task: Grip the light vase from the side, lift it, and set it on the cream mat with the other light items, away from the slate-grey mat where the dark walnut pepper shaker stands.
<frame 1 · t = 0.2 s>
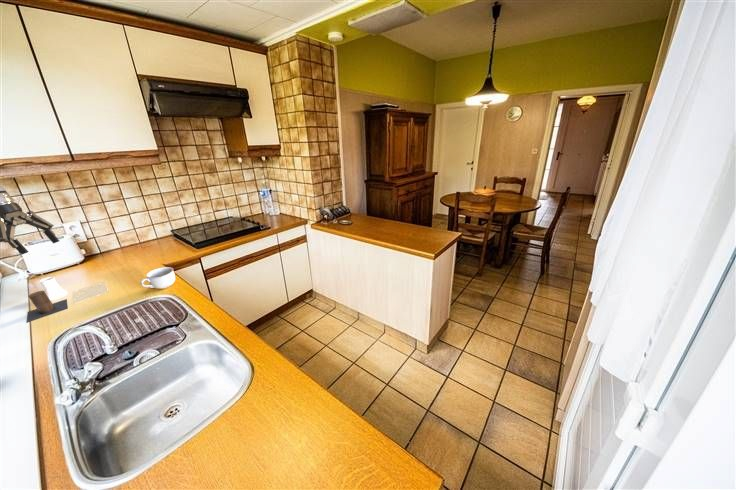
hand: (41, 247, 122), 24 cm above the worktop, tool tilted 15°, fingers open, 13 cm apart
cream mat: (91, 293, 129), on the worktop
vase: (58, 297, 127), on the worktop
slate mat: (48, 311, 116), on the worktop
teacup: (161, 287, 131), on the worktop
pepper shaker: (47, 311, 115), point 1 cm above the worktop, touching slate mat
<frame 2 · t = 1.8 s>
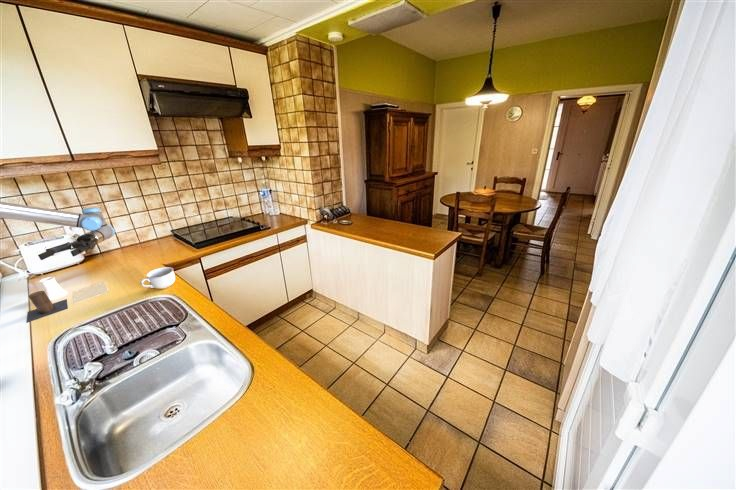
hand: (56, 255, 129), 18 cm above the worktop, tool horizontal, fingers open, 13 cm apart
nothing on the worktop moved.
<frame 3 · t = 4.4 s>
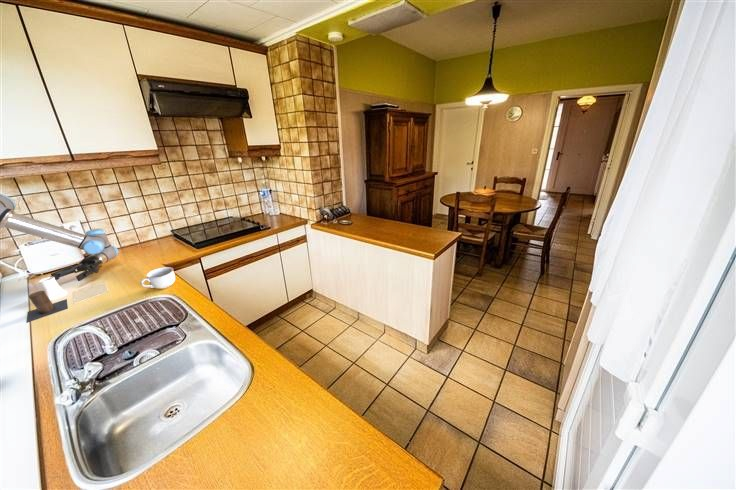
hand: (61, 280, 130), 6 cm above the worktop, tool horizontal, fingers open, 13 cm apart
nothing on the worktop moved.
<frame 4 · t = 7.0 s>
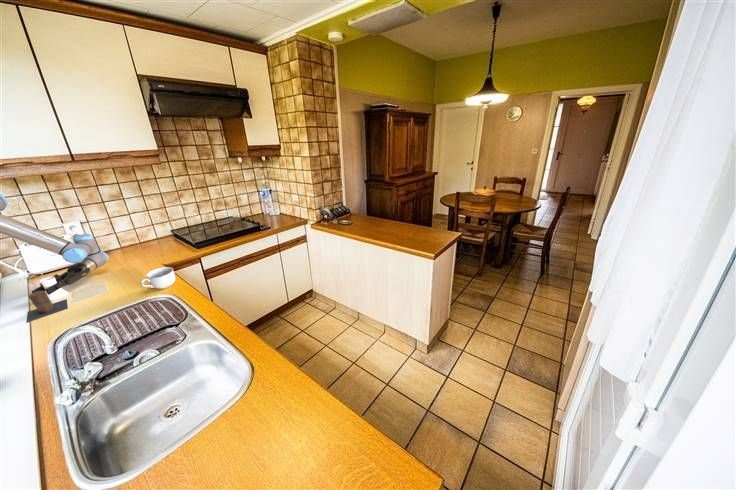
hand: (40, 292, 120), 6 cm above the worktop, tool horizontal, fingers closed on vase, 5 cm apart
vase: (58, 297, 127), on the worktop, touching gripper
everything else where it was.
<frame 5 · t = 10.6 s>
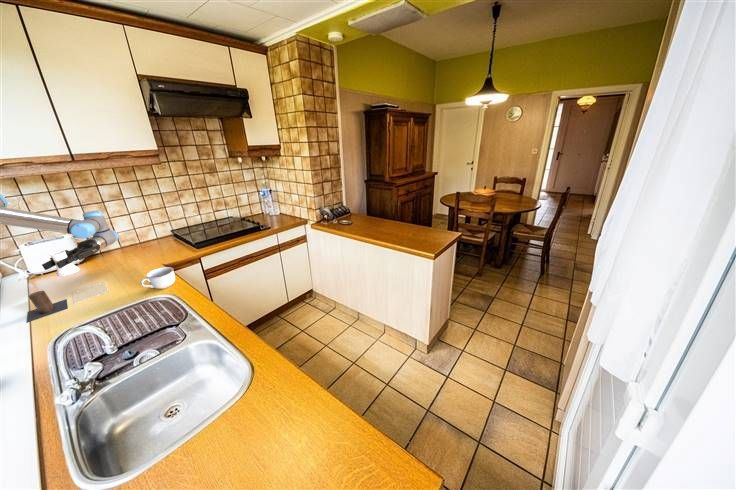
hand: (51, 266, 116), 18 cm above the worktop, tool horizontal, fingers closed on vase, 5 cm apart
vase: (68, 272, 124), point 12 cm above the worktop, touching gripper
everything else where it was.
when the fingers open (7 cm above the worktop, at t = 14.5 s): vase stays where it is, resting on cream mat.
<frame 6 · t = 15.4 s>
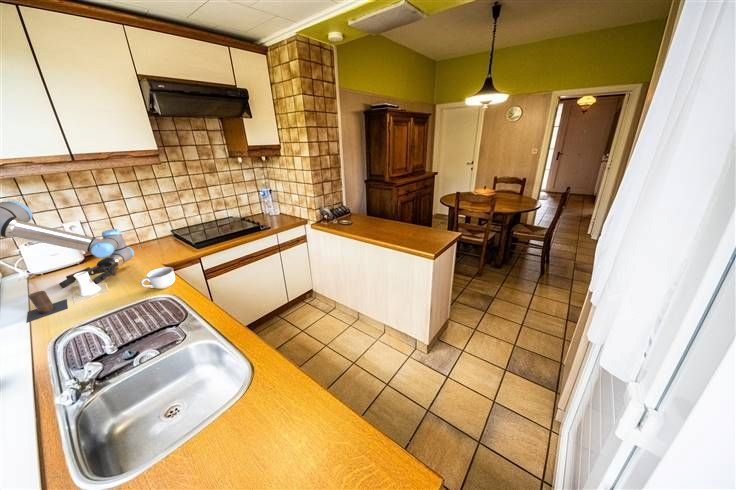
hand: (78, 283, 123), 7 cm above the worktop, tool horizontal, fingers open, 13 cm apart
vase: (90, 292, 129), point 1 cm above the worktop, touching cream mat
everything else where it was.
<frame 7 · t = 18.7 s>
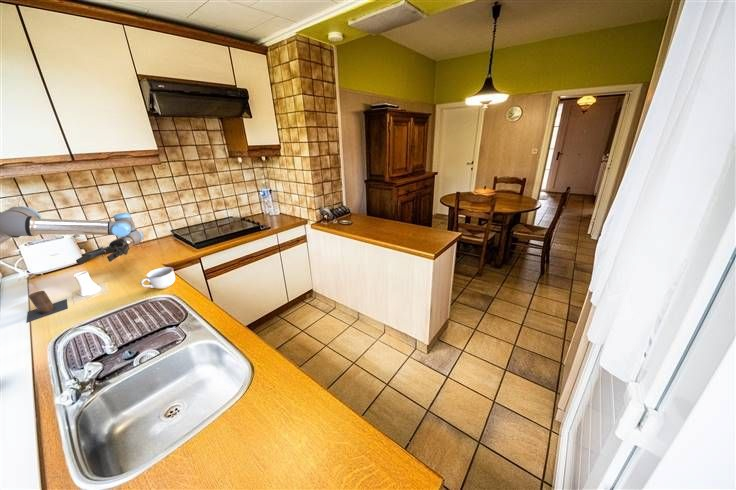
hand: (93, 260, 132), 13 cm above the worktop, tool horizontal, fingers open, 13 cm apart
nothing on the worktop moved.
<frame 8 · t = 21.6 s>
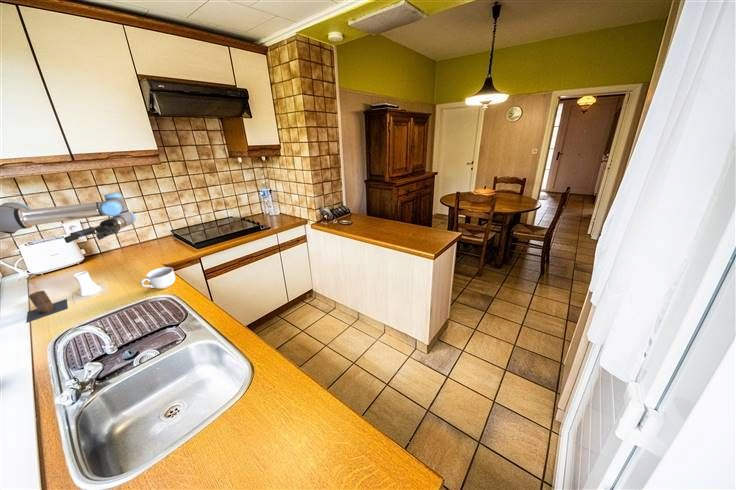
hand: (82, 238, 128), 25 cm above the worktop, tool horizontal, fingers open, 13 cm apart
nothing on the worktop moved.
at the end: vase inside the target area on the cream mat (0.1 cm from its centre), point 0.6 cm above the cream mat's base; vase tilted 0°; the gripper is holding nothing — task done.
